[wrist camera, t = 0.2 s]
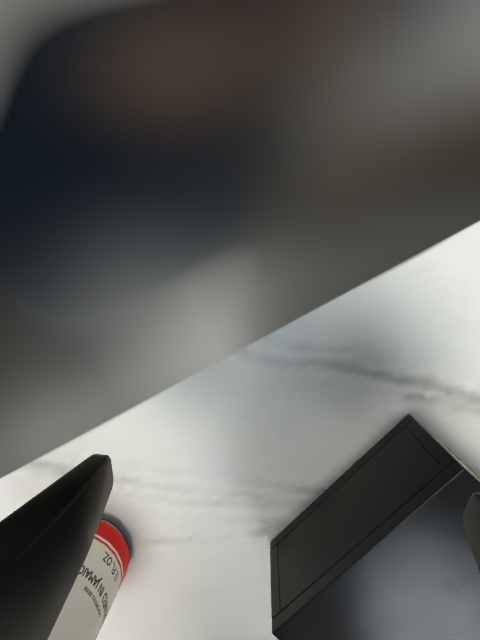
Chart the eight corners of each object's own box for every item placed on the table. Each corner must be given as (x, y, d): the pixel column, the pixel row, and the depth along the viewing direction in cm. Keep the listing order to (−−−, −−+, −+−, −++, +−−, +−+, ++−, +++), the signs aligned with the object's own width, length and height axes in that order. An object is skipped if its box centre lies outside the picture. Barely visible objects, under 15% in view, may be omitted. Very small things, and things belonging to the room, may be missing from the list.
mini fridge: (572, 561, 24) (686, 668, 18) (423, 674, 26) (475, 805, 20) (408, 413, 23) (464, 467, 17) (269, 542, 26) (271, 633, 19)
